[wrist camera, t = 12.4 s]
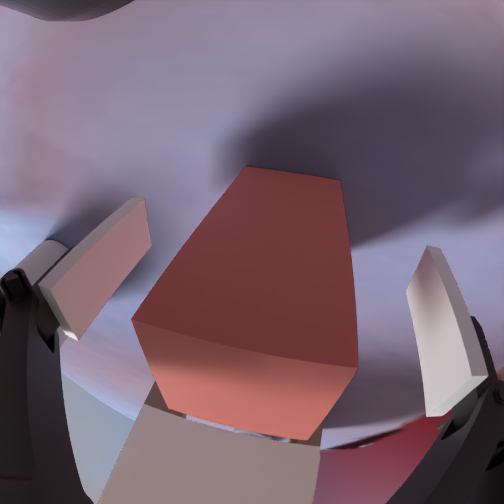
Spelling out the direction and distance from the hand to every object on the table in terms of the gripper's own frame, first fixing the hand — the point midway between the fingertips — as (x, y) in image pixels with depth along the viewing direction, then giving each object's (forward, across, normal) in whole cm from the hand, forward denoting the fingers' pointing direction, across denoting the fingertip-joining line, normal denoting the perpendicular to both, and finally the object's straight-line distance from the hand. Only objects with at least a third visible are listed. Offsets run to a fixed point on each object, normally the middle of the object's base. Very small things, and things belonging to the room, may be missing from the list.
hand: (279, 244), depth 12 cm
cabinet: (+3, -2, -26) cm, 26 cm away
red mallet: (+4, 0, -9) cm, 10 cm away
